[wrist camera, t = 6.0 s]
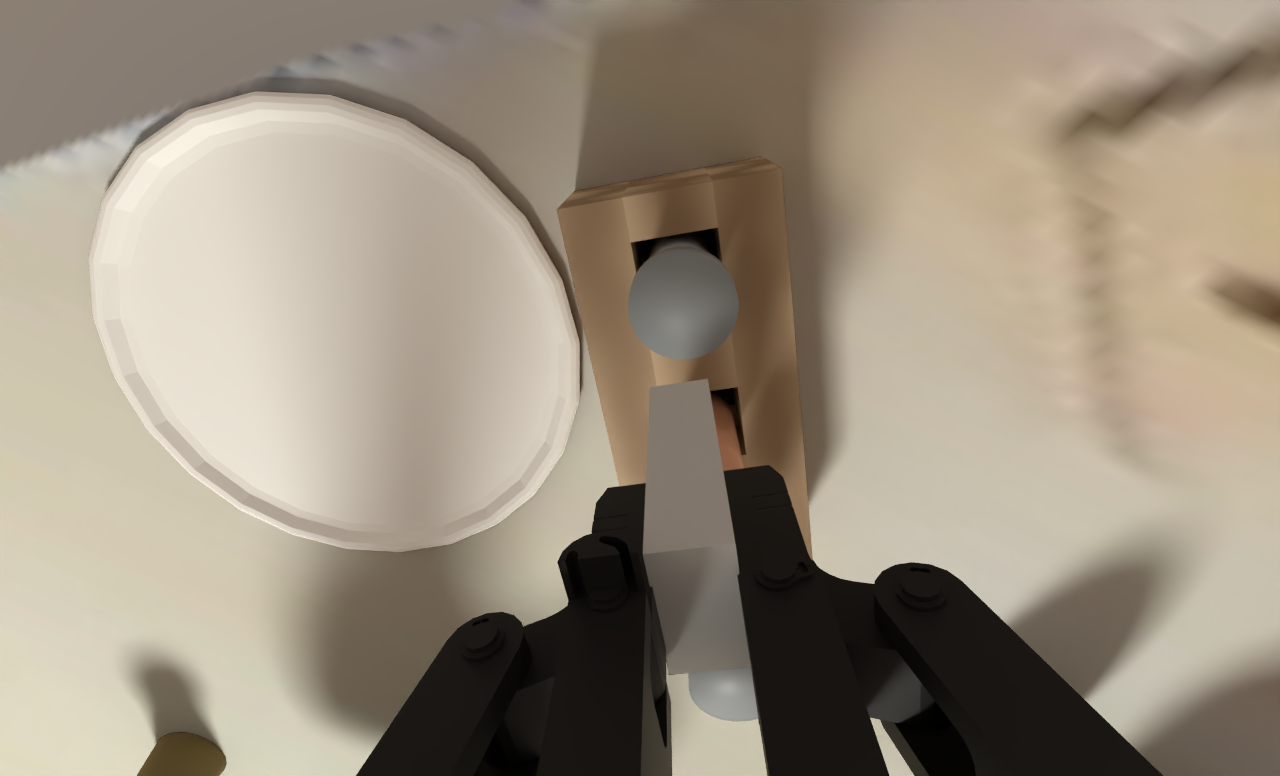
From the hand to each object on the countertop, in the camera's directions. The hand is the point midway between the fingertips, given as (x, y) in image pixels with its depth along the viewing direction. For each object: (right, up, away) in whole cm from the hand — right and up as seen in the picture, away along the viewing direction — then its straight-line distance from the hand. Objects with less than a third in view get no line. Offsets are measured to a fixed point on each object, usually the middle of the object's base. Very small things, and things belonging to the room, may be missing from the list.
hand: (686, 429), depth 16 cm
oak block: (+2, +2, +21) cm, 22 cm away
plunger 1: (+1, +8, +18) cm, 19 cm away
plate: (-19, +3, +22) cm, 29 cm away
